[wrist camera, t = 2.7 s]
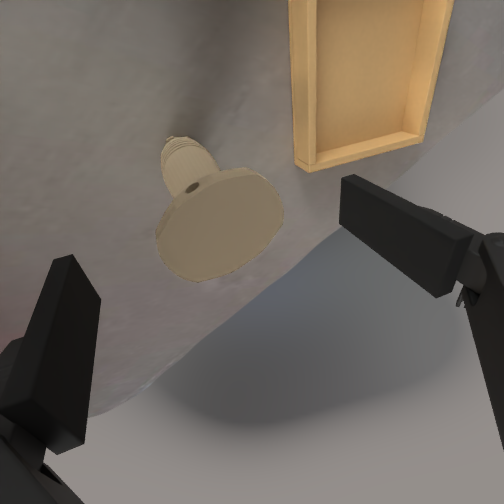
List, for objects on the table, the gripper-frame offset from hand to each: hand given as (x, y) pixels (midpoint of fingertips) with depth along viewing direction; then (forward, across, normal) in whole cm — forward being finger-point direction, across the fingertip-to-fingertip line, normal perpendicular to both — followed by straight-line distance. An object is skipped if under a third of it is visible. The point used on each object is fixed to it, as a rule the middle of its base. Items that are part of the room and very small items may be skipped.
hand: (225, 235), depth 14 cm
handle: (+15, 0, 0) cm, 15 cm away
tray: (+15, +18, +5) cm, 24 cm away
